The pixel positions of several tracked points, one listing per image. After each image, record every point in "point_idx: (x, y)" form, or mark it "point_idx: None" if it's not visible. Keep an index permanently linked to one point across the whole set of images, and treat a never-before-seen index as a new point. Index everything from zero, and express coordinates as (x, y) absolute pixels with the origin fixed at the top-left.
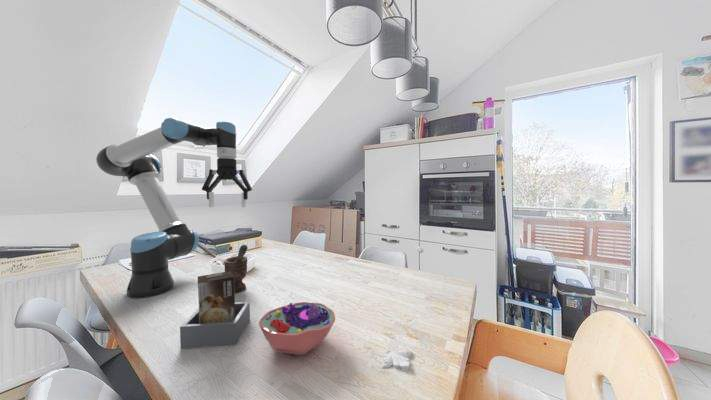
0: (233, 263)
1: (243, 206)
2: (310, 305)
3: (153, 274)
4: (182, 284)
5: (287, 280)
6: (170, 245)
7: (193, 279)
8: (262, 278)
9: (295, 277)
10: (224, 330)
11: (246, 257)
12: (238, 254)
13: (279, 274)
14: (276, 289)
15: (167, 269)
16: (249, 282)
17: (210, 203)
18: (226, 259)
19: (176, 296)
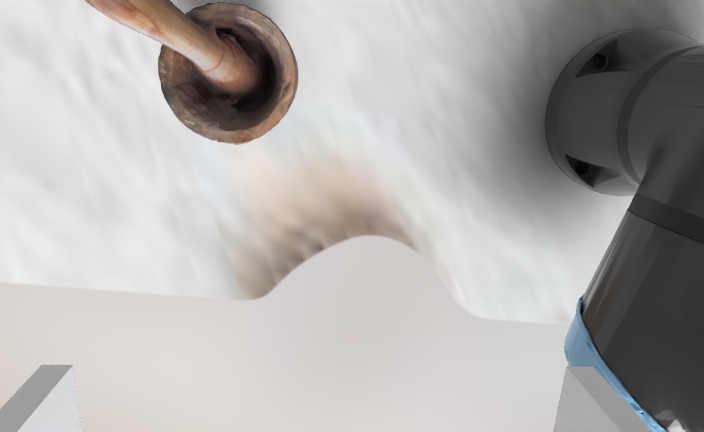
0: (217, 2)
1: (34, 375)
2: None
3: (648, 64)
4: (522, 169)
5: (41, 168)
6: (692, 178)
7: (499, 225)
8: (180, 207)
9: (12, 205)
10: None
11: (173, 109)
12: (171, 2)
13: (111, 254)
14: (59, 55)
15: (612, 138)
16: (226, 161)
17: (605, 405)
18: (286, 74)
19: (490, 30)
